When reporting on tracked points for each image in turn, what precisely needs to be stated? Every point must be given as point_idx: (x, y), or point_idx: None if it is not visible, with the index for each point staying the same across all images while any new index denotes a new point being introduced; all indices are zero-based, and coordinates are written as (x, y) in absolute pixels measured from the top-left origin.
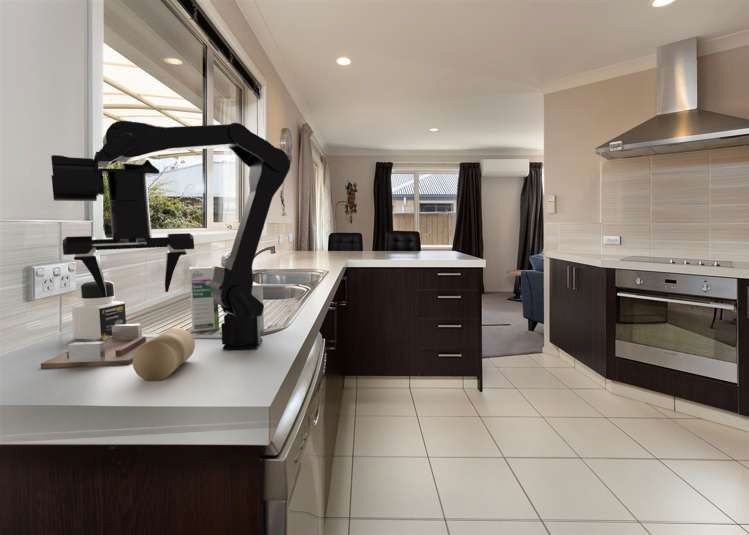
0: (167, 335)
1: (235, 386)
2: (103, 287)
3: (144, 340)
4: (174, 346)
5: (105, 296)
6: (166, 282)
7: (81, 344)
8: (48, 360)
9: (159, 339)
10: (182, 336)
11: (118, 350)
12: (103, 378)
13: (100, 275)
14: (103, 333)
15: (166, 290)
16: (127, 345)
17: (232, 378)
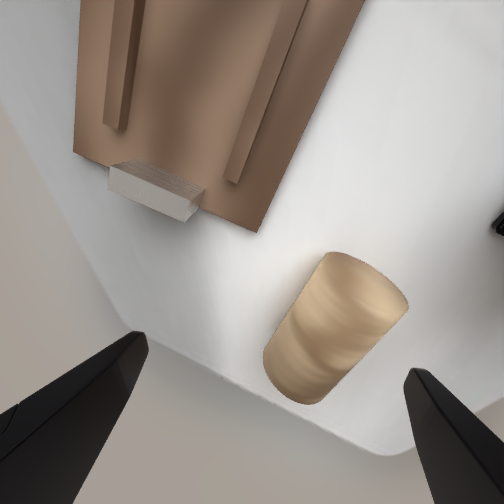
0: (334, 367)
1: (388, 411)
2: (121, 405)
3: (307, 3)
4: (337, 383)
5: (146, 355)
6: (426, 460)
7: (140, 202)
8: (76, 126)
9: (312, 388)
10: (372, 346)
11: (230, 180)
12: (220, 288)
13: (75, 493)
14: None
15: (409, 398)
16: (250, 129)
17: (400, 388)
